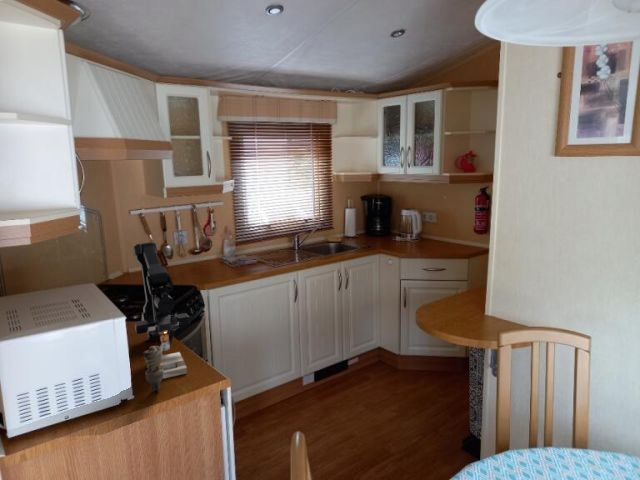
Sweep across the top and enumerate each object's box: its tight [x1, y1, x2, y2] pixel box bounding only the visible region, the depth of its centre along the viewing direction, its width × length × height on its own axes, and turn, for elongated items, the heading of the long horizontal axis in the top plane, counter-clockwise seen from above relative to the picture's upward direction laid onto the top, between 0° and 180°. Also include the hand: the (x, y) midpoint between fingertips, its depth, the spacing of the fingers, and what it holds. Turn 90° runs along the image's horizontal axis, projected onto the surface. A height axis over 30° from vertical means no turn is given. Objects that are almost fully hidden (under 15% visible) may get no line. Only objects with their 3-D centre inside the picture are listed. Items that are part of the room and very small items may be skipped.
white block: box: [160, 351, 188, 380], centre depth 159 cm, size 14×10×2 cm
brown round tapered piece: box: [158, 330, 171, 352], centre depth 167 cm, size 4×4×6 cm
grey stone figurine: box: [142, 345, 164, 392], centre depth 142 cm, size 6×6×15 cm
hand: (164, 344), depth 168 cm, fingers closed on brown round tapered piece, 4 cm apart
